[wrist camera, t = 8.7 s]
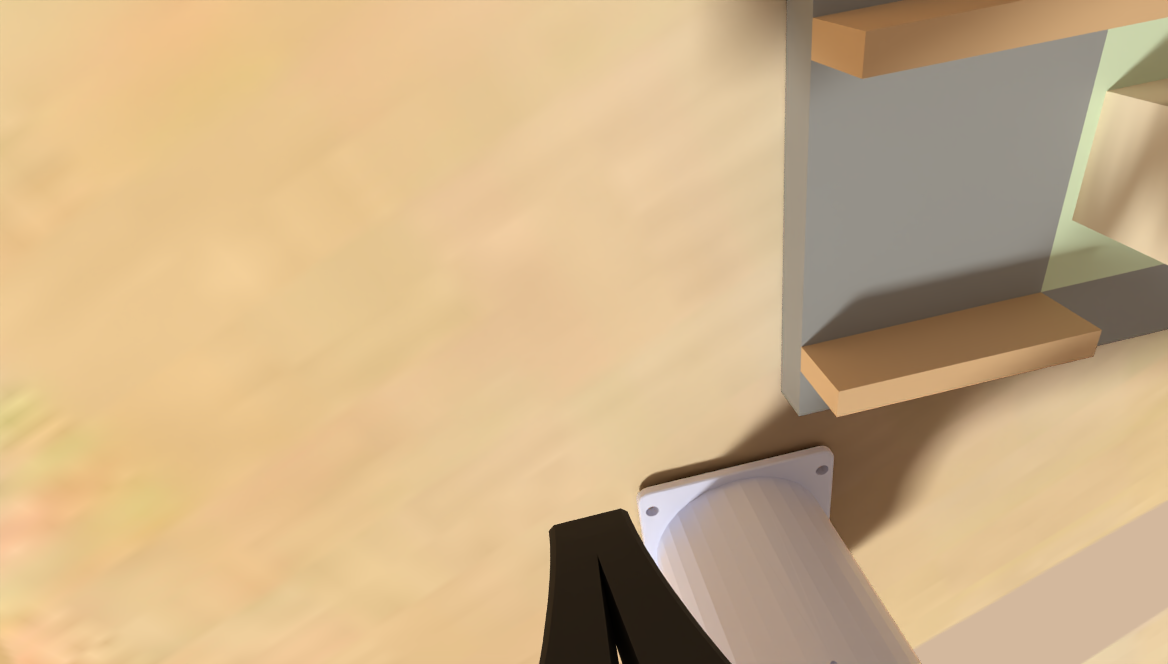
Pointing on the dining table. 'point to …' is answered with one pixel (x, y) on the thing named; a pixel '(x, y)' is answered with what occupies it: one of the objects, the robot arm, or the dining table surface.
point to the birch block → (1129, 170)
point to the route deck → (952, 193)
